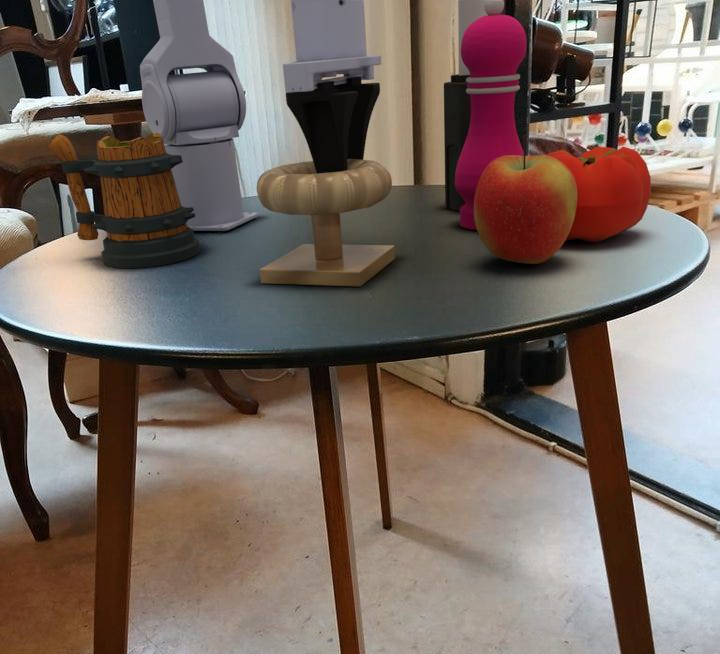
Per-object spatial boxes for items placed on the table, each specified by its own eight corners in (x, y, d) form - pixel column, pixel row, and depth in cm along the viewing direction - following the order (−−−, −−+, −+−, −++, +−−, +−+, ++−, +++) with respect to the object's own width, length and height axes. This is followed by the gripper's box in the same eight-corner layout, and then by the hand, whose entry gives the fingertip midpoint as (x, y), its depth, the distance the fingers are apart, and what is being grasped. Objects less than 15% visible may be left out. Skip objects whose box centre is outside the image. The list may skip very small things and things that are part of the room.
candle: (441, 207, 88) (437, -56, 76) (479, 200, 90) (481, -58, 78) (464, 213, 84) (464, -64, 72) (504, 206, 86) (510, -65, 74)
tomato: (530, 252, 67) (534, 161, 64) (524, 226, 77) (527, 145, 73) (657, 248, 66) (668, 154, 62) (635, 221, 75) (644, 138, 72)
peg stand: (260, 283, 65) (249, 200, 61) (304, 256, 72) (296, 181, 69) (360, 287, 62) (354, 199, 58) (395, 258, 69) (392, 179, 66)
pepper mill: (540, 225, 77) (551, -12, 67) (476, 235, 75) (478, -8, 65) (503, 214, 83) (508, -5, 73) (442, 223, 81) (439, -1, 71)
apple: (585, 254, 66) (595, 126, 61) (555, 279, 60) (562, 139, 55) (496, 249, 70) (498, 128, 65) (459, 271, 64) (459, 140, 59)
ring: (235, 218, 62) (230, 178, 60) (293, 193, 71) (290, 158, 69) (363, 218, 58) (361, 176, 56) (408, 192, 67) (406, 155, 65)
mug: (215, 241, 80) (196, 120, 75) (185, 266, 72) (161, 131, 66) (98, 247, 82) (70, 129, 76) (54, 272, 73) (19, 141, 68)
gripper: (340, -14, 53) (354, 194, 59) (403, -8, 64) (409, 165, 71) (249, -4, 55) (272, 195, 62) (326, 0, 67) (339, 166, 74)
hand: (340, 179), depth 67 cm, fingers closed on ring, 3 cm apart
